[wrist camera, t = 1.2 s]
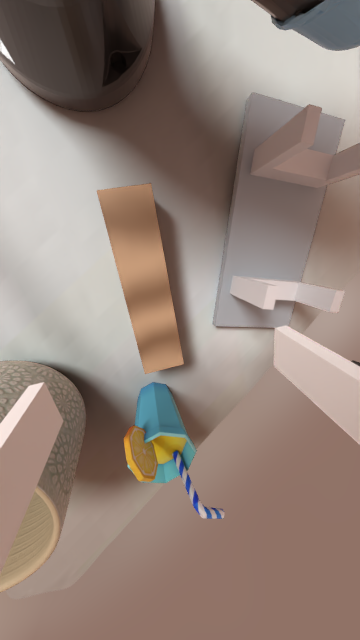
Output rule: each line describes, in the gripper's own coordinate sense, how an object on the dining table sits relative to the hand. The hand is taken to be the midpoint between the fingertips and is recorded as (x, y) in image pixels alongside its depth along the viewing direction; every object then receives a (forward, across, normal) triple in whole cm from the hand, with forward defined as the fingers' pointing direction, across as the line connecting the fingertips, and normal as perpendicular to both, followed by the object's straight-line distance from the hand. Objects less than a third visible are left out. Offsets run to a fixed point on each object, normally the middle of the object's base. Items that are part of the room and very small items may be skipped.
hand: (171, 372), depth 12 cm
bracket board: (+18, +17, +6) cm, 25 cm away
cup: (+17, -2, -16) cm, 24 cm away
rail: (+18, 0, +2) cm, 18 cm away
